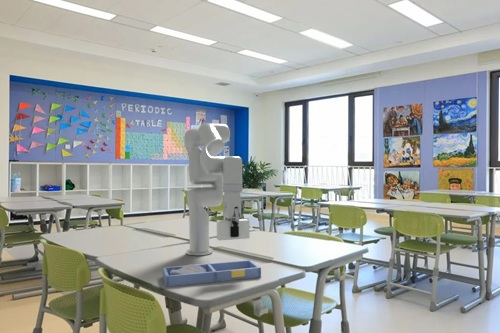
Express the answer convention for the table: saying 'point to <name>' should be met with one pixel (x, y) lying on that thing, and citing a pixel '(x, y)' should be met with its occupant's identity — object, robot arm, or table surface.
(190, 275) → the blue divided tray
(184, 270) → the grey grainy mound
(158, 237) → the table surface
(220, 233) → the white rectangular block
